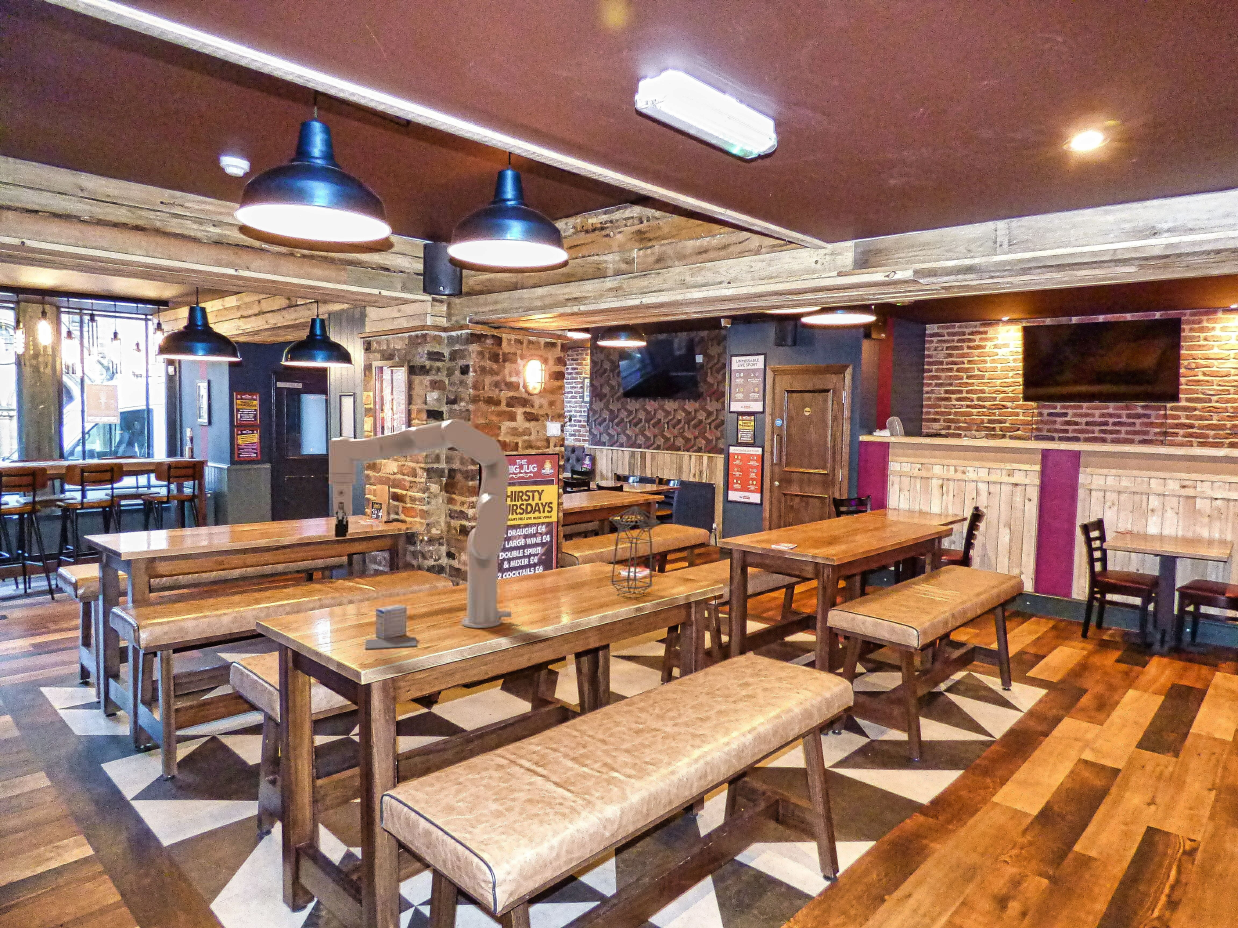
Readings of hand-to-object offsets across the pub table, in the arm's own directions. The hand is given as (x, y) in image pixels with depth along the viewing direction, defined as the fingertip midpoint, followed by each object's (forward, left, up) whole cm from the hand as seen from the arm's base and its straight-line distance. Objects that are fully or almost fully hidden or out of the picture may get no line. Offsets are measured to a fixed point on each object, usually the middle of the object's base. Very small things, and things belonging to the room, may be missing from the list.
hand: (341, 535), depth 220 cm
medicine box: (-15, +9, -30) cm, 34 cm away
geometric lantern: (-105, -31, -30) cm, 113 cm away
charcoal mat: (-15, +17, -30) cm, 37 cm away
